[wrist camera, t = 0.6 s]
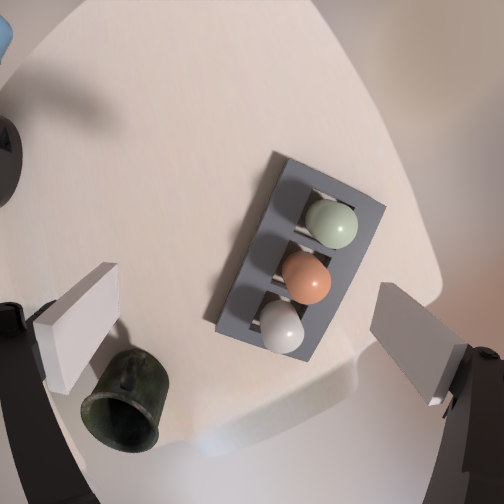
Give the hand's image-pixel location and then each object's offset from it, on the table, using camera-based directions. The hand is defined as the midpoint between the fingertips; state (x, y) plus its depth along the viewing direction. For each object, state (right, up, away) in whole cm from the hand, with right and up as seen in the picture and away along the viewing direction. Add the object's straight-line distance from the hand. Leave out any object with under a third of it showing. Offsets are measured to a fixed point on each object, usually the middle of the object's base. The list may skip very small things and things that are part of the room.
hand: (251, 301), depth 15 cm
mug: (-17, -15, +30) cm, 38 cm away
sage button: (+9, +6, +24) cm, 26 cm away
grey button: (+3, -6, +27) cm, 28 cm away
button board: (+6, 0, +27) cm, 28 cm away
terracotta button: (+6, 0, +25) cm, 26 cm away
